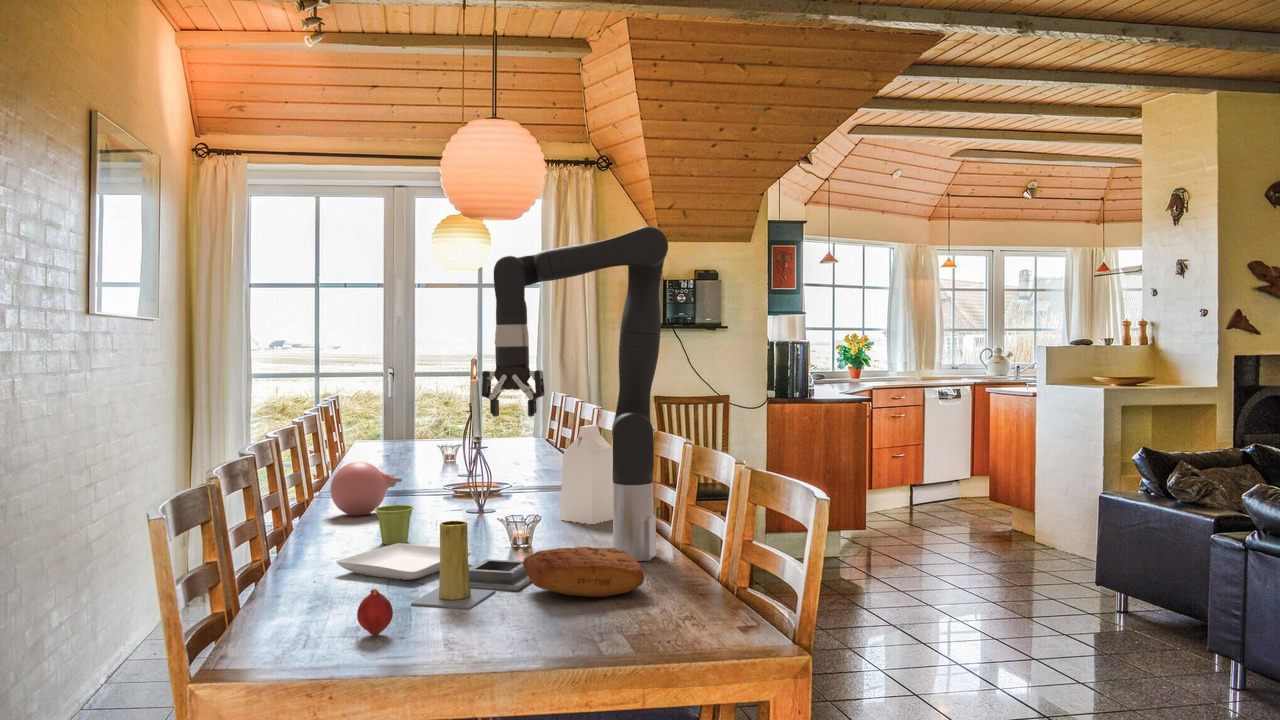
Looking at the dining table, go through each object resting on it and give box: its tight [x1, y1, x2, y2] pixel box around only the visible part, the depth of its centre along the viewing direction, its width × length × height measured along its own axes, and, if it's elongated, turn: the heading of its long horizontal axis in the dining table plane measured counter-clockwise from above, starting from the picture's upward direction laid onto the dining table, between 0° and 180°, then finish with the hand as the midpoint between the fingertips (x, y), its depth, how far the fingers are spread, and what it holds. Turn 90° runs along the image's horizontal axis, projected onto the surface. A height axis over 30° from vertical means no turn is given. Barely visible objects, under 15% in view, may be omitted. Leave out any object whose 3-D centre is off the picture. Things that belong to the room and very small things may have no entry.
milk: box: [559, 424, 613, 525], centre depth 263 cm, size 12×12×26 cm
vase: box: [438, 519, 471, 600], centre depth 182 cm, size 6×6×14 cm
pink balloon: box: [329, 461, 403, 517], centre depth 273 cm, size 15×20×15 cm
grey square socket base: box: [469, 558, 532, 592], centre depth 196 cm, size 14×14×3 cm
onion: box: [356, 588, 394, 637], centre depth 160 cm, size 6×6×8 cm
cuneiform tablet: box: [523, 546, 645, 598], centre depth 186 cm, size 22×17×8 cm
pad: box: [410, 587, 496, 610], centre depth 183 cm, size 12×12×1 cm
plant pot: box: [374, 504, 414, 546], centre depth 234 cm, size 9×9×9 cm
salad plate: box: [336, 543, 472, 581], centre depth 207 cm, size 21×21×3 cm
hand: (513, 416), depth 215 cm, fingers open, 8 cm apart
